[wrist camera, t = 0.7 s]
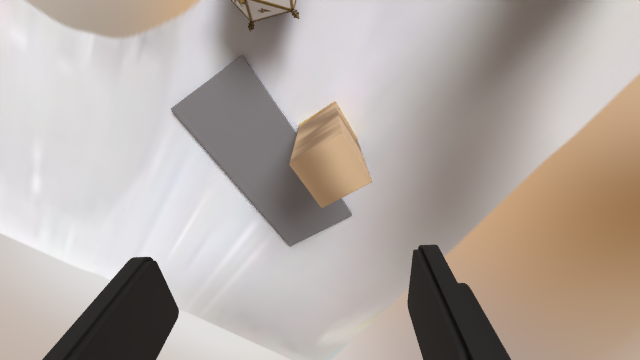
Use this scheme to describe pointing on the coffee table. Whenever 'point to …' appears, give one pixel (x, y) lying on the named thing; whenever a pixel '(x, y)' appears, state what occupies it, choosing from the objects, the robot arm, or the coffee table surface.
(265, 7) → the game die
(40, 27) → the coffee table surface
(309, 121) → the oak block
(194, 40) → the coffee table surface
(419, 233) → the coffee table surface
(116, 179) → the coffee table surface
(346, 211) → the mat
